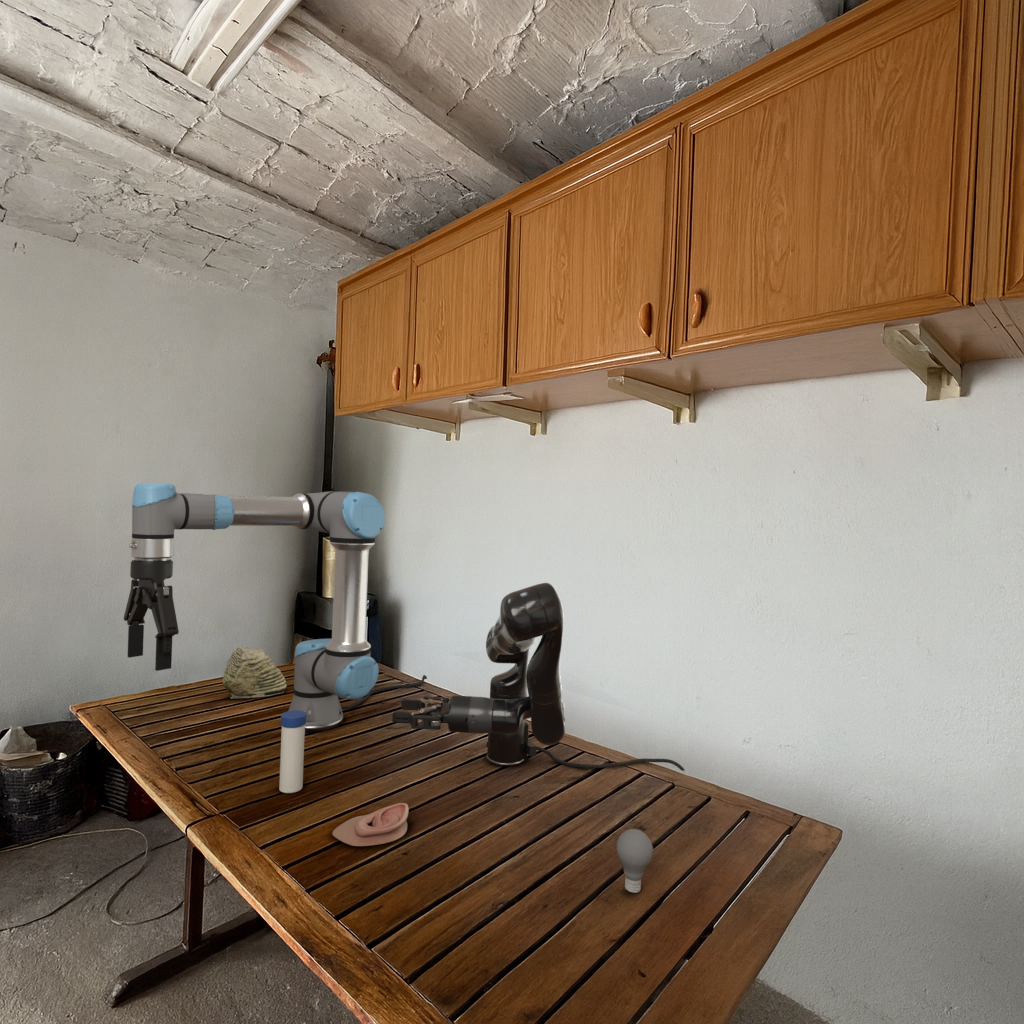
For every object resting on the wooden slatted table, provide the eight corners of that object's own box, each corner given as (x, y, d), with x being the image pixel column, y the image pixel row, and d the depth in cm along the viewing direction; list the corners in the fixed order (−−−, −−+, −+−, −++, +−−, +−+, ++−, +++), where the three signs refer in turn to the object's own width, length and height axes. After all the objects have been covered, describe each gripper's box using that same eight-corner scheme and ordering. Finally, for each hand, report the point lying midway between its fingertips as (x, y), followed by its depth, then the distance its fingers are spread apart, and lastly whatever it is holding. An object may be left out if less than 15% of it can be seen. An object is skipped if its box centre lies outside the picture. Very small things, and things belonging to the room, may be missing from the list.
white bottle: (275, 792, 135) (278, 719, 135) (284, 782, 140) (287, 712, 139) (297, 793, 135) (300, 721, 134) (306, 783, 139) (308, 713, 139)
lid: (276, 726, 134) (276, 717, 134) (286, 718, 140) (287, 709, 140) (300, 728, 134) (300, 719, 134) (309, 720, 139) (310, 711, 139)
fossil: (218, 695, 195) (220, 647, 195) (278, 685, 208) (279, 640, 207) (228, 703, 189) (230, 653, 188) (289, 692, 201) (290, 645, 201)
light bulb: (610, 879, 108) (613, 822, 108) (644, 879, 109) (647, 822, 109) (619, 902, 102) (622, 840, 102) (655, 901, 103) (658, 840, 103)
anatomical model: (325, 820, 116) (352, 792, 127) (324, 841, 116) (352, 812, 128) (392, 830, 114) (415, 801, 125) (392, 852, 114) (414, 821, 125)
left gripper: (108, 554, 134) (105, 654, 134) (159, 565, 118) (155, 678, 119) (146, 552, 140) (143, 648, 140) (199, 563, 124) (196, 671, 124)
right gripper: (476, 687, 143) (404, 683, 144) (469, 707, 129) (390, 703, 129) (474, 720, 143) (403, 716, 144) (467, 744, 129) (388, 739, 129)
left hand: (148, 662), depth 129 cm, fingers open, 13 cm apart
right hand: (397, 710), depth 136 cm, fingers open, 8 cm apart
